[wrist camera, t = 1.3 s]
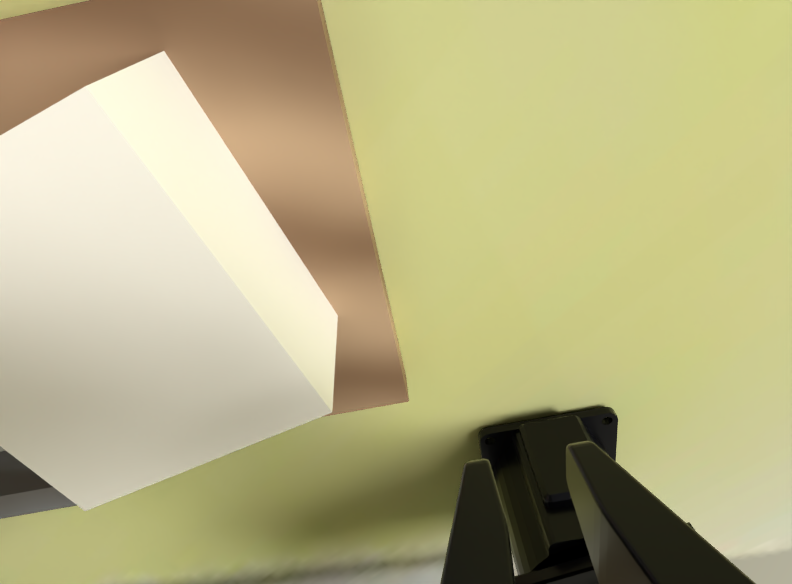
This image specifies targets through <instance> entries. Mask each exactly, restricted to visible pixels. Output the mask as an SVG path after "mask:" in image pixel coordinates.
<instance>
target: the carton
mask: <svg viewBox="0 0 792 584" xmlns="http://www.w3.org/2000/svg"><path fill="white" fill-rule="evenodd" d="M337 322H338V315H337V314H336V312H335V311H334V309H333V308H332V306H331V304H330V303H329V301H328V300H327V298H326V297H325V295H324V294H323V292H322V291H321V289H320V288H319V286H318V285H317V283H316V282H315V280H314V279H313V277H312V276H311V274H310V272H309V271H308V269H307V268H306V266H305V265H304V263H303V262H302V260H301V259H300V257H299V256H298V254H297V253H296V251H295V250H294V248H293V247H292V245H291V244H290V242H289V240H288V239H287V237H286V236H285V234H284V233H283V231H282V230H281V228H280V227H279V225H278V224H277V222H276V221H275V219H274V218H273V216H272V215H271V213H270V212H269V210H268V208H267V207H266V205H265V204H264V202H263V201H262V199H261V198H260V196H259V195H258V193H257V192H256V190H255V189H254V187H253V186H252V184H251V183H250V181H249V180H248V178H247V176H246V175H245V173H244V172H243V170H242V169H241V167H240V166H239V164H238V163H237V161H236V160H235V158H234V157H233V155H232V154H231V152H230V151H229V149H228V148H227V146H226V144H225V143H224V141H223V140H222V138H221V137H220V135H219V134H218V132H217V131H216V129H215V128H214V126H213V125H212V123H211V122H210V120H209V119H208V117H207V116H206V114H205V112H204V111H203V109H202V108H201V106H200V105H199V103H198V102H197V100H196V99H195V97H194V96H193V94H192V93H191V91H190V90H189V88H188V87H187V85H186V84H185V82H184V80H183V79H182V77H181V76H180V74H179V73H178V71H177V70H176V68H175V67H174V65H173V64H172V62H171V61H170V59H169V58H168V56H167V55H166V53H165V51H163V52H160V53H158V54H156V55H154V56H151V57H149V58H147V59H145V60H143V61H140V62H138V63H136V64H134V65H131V66H129V67H127V68H125V69H123V70H120V71H118V72H116V73H114V74H111V75H109V76H107V77H105V78H103V79H100V80H98V81H96V82H94V83H91V84H89V85H87V86H85V87H83V88H81V89H80V90H78V91H76V92H75V93H73V94H71V95H69V96H68V97H66V98H64V99H62V100H61V101H59V102H57V103H56V104H54V105H52V106H50V107H49V108H47V109H45V110H43V111H42V112H40V113H38V114H37V115H35V116H33V117H31V118H30V119H28V120H26V121H24V122H23V123H21V124H19V125H18V126H16V127H14V128H12V129H11V130H9V131H7V132H5V133H4V134H2V135H0V446H1V447H2V448H3V449H5V450H6V451H7V452H8V453H10V454H11V455H12V456H14V457H15V458H16V459H18V460H19V461H20V462H21V463H23V464H24V465H25V466H27V467H28V468H29V469H31V470H32V471H33V472H34V473H36V474H37V475H38V476H40V477H41V478H42V479H44V480H45V481H46V482H48V483H49V484H50V485H51V486H53V487H54V488H55V489H57V490H58V491H59V492H61V493H62V494H63V495H64V496H66V497H67V498H68V499H70V500H71V501H72V502H74V503H75V504H76V505H77V506H79V507H80V508H81V509H83V510H84V511H87V510H90V509H92V508H95V507H97V506H100V505H102V504H105V503H107V502H110V501H112V500H115V499H117V498H120V497H122V496H125V495H127V494H130V493H132V492H135V491H137V490H140V489H142V488H145V487H147V486H150V485H152V484H155V483H157V482H160V481H162V480H165V479H167V478H170V477H172V476H175V475H177V474H180V473H182V472H185V471H187V470H190V469H192V468H195V467H197V466H200V465H202V464H205V463H207V462H210V461H212V460H215V459H217V458H220V457H222V456H225V455H227V454H230V453H232V452H235V451H237V450H240V449H242V448H245V447H247V446H250V445H252V444H255V443H257V442H260V441H262V440H265V439H267V438H270V437H272V436H275V435H277V434H280V433H282V432H285V431H287V430H290V429H292V428H295V427H297V426H300V425H302V424H305V423H307V422H310V421H312V420H315V419H317V418H320V417H322V416H325V415H327V414H330V413H332V409H333V391H334V374H335V356H336V339H337Z"/></svg>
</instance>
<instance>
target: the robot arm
mask: <svg viewBox="0 0 792 584" xmlns="http://www.w3.org/2000/svg"><path fill="white" fill-rule="evenodd" d="M606 417H607V418H606ZM617 425H618V418H617V415H616V413H615V412H614V410H613V409H612V408H610V407H602V408H596V409H591V410H585V411H579V412H574V413H568V414H562V415H556V416H551V417H545V418H539V419H533V420H528V421H522V422H516V423H510V424H505V425H499V426H493V427H488V428H484V429H483V430H481V431H480V432H479V434H478V439H479V446H480V453H481V459H479V460H473V461H468V462H466V463H465V465H464V467H463V472H462V477H461V482H460V488H459V493H458V498H457V503H456V508H455V513H454V518H453V523H452V528H451V533H450V538H449V543H448V548H447V553H446V558H445V563H444V568H443V573H442V578H441V583H440V584H756V583H754V582H753V581H752V580H751V579H749V577H748V576H746V575H745V574H744V573H743V572H742V571H741V570H739V569H738V568H737V567H736V566H735V565H734V564H733V563H731V562H730V561H729V560H728V559H727V558H726V557H725V556H723V555H722V554H721V553H720V552H719V551H718V550H717V549H715V548H714V547H713V546H712V545H711V544H710V543H708V542H707V541H706V540H705V539H704V538H703V537H702V536H700V535H699V534H698V533H697V532H696V531H695V530H694V528H693V527H692V525H691V524H690V523H689V522H688V523H685V522H684V521H683V520H682V519H681V518H680V517H679V516H677V515H676V514H675V513H674V512H673V511H672V510H671V509H669V508H668V507H667V506H666V505H665V504H664V503H663V502H661V501H660V500H659V499H658V498H657V497H656V496H654V495H653V494H652V493H651V492H650V491H649V490H648V489H646V488H645V487H644V486H643V485H642V484H641V483H640V482H638V481H637V480H636V479H635V478H634V477H633V476H631V475H630V474H629V473H628V472H627V471H626V470H625V469H623V468H622V467H621V466H620V465H619V464H618V463H617V462H615V460H616V443H617ZM490 437H492V438H490ZM487 438H489V439H487ZM511 550H512V552H511ZM512 554H513V558H514V561H515V565H516V569H517V573H518V576H514V569H513V560H512Z"/></svg>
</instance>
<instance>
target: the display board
mask: <svg viewBox="0 0 792 584" xmlns="http://www.w3.org/2000/svg"><path fill="white" fill-rule="evenodd" d="M163 51H165V53H166V55H167V56H168V58H169V59H170V61H171V62H172V64H173V65H174V67H175V68H176V70H177V71H178V73H179V74H180V76H181V77H182V79H183V80H184V82H185V84H186V85H187V87H188V88H189V90H190V91H191V93H192V94H193V96H194V97H195V99H196V100H197V102H198V103H199V105H200V106H201V108H202V109H203V111H204V112H205V114H206V116H207V117H208V119H209V120H210V122H211V123H212V125H213V126H214V128H215V129H216V131H217V132H218V134H219V135H220V137H221V138H222V140H223V141H224V143H225V144H226V146H227V148H228V149H229V151H230V152H231V154H232V155H233V157H234V158H235V160H236V161H237V163H238V164H239V166H240V167H241V169H242V170H243V172H244V173H245V175H246V176H247V178H248V180H249V181H250V183H251V184H252V186H253V187H254V189H255V190H256V192H257V193H258V195H259V196H260V198H261V199H262V201H263V202H264V204H265V205H266V207H267V208H268V210H269V212H270V213H271V215H272V216H273V218H274V219H275V221H276V222H277V224H278V225H279V227H280V228H281V230H282V231H283V233H284V234H285V236H286V237H287V239H288V240H289V242H290V244H291V245H292V247H293V248H294V250H295V251H296V253H297V254H298V256H299V257H300V259H301V260H302V262H303V263H304V265H305V266H306V268H307V269H308V271H309V272H310V274H311V276H312V277H313V279H314V280H315V282H316V283H317V285H318V286H319V288H320V289H321V291H322V292H323V294H324V295H325V297H326V298H327V300H328V301H329V303H330V304H331V306H332V308H333V309H334V311H335V312H336V314H337V315H338V322H337V339H336V356H335V374H334V391H333V409H332V413H330V414H327V415H325V416H329V415H335V414H340V413H346V412H352V411H357V410H363V409H368V408H374V407H380V406H385V405H391V404H397V403H402V402H408V401H409V398H408V389H407V381H406V375H405V370H404V366H403V361H402V357H401V353H400V348H399V344H398V339H397V335H396V331H395V326H394V322H393V317H392V313H391V308H390V304H389V300H388V295H387V291H386V286H385V282H384V277H383V273H382V269H381V264H380V260H379V255H378V251H377V246H376V242H375V238H374V233H373V229H372V224H371V220H370V216H369V211H368V207H367V202H366V198H365V193H364V189H363V185H362V180H361V176H360V171H359V167H358V162H357V158H356V154H355V149H354V145H353V140H352V136H351V131H350V127H349V123H348V118H347V114H346V109H345V105H344V101H343V96H342V92H341V87H340V83H339V78H338V74H337V70H336V65H335V61H334V56H333V52H332V47H331V43H330V39H329V34H328V30H327V25H326V21H325V16H324V12H323V8H322V3H321V0H89V1H85V2H80V3H75V4H71V5H66V6H61V7H57V8H52V9H48V10H43V11H38V12H34V13H29V14H25V15H20V16H15V17H11V18H6V19H2V20H0V135H2V134H4V133H5V132H7V131H9V130H11V129H12V128H14V127H16V126H18V125H19V124H21V123H23V122H24V121H26V120H28V119H30V118H31V117H33V116H35V115H37V114H38V113H40V112H42V111H43V110H45V109H47V108H49V107H50V106H52V105H54V104H56V103H57V102H59V101H61V100H62V99H64V98H66V97H68V96H69V95H71V94H73V93H75V92H76V91H78V90H80V89H81V88H83V87H85V86H87V85H89V84H91V83H94V82H96V81H98V80H100V79H103V78H105V77H107V76H109V75H111V74H114V73H116V72H118V71H120V70H123V69H125V68H127V67H129V66H131V65H134V64H136V63H138V62H140V61H143V60H145V59H147V58H149V57H151V56H154V55H156V54H158V53H160V52H163ZM322 417H323V416H322ZM70 506H76V504H75V503H74V502H72V501H71V500H70V499H68V498H67V497H66V496H64V495H63V494H62V493H61V492H59V491H58V490H57V489H55V488H54V487H53V486H51V485H50V484H49V483H48V482H46V481H45V480H44V479H42V478H41V477H40V476H38V475H37V474H36V473H34V472H33V471H32V470H31V469H29V468H28V467H27V466H25V465H24V464H23V463H21V462H20V461H19V460H18V459H16V458H15V457H14V456H12V455H11V454H10V453H8V452H7V451H6V450H5V449H3V448H2V447H1V446H0V519H1V518H7V517H13V516H19V515H24V514H30V513H36V512H42V511H47V510H53V509H59V508H65V507H70Z"/></svg>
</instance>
